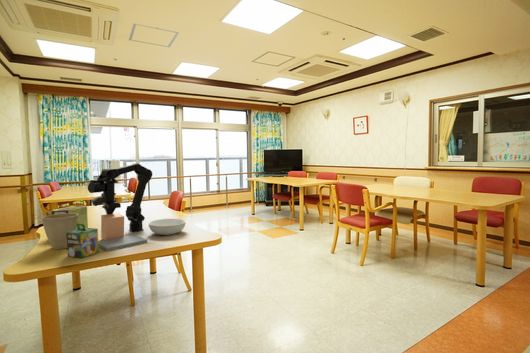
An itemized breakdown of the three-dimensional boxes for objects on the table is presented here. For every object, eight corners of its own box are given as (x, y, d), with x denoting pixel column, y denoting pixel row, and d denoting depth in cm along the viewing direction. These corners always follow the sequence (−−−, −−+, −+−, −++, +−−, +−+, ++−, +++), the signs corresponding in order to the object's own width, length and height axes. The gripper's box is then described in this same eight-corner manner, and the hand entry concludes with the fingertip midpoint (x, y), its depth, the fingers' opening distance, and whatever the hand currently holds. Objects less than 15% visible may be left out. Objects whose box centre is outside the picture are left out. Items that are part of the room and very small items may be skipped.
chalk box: (99, 252, 135) (98, 221, 134) (81, 258, 127) (80, 226, 126) (85, 250, 138) (84, 220, 137) (66, 256, 130) (65, 224, 129)
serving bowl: (171, 239, 158) (171, 227, 157) (140, 236, 164) (140, 224, 164) (192, 230, 177) (192, 219, 177) (164, 227, 184) (164, 217, 184)
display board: (134, 236, 162) (134, 234, 162) (147, 242, 152) (147, 239, 152) (95, 244, 148) (95, 241, 148) (106, 251, 137) (106, 248, 137)
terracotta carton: (118, 234, 164) (118, 212, 163) (123, 238, 159) (124, 216, 157) (101, 237, 158) (101, 215, 156) (106, 242, 152) (106, 218, 151)
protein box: (88, 231, 176) (87, 206, 175) (69, 237, 160) (68, 210, 160) (72, 230, 177) (71, 205, 176) (52, 237, 161) (50, 210, 160)
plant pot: (86, 243, 149) (85, 213, 148) (60, 252, 135) (59, 219, 134) (62, 241, 152) (61, 212, 151) (35, 250, 138) (33, 218, 137)
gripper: (87, 190, 160) (87, 218, 161) (98, 194, 148) (98, 223, 148) (109, 189, 168) (109, 215, 169) (120, 192, 156) (121, 220, 156)
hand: (109, 218), depth 161 cm, fingers closed
